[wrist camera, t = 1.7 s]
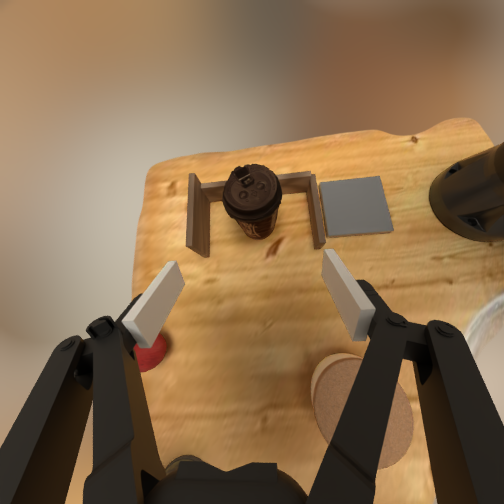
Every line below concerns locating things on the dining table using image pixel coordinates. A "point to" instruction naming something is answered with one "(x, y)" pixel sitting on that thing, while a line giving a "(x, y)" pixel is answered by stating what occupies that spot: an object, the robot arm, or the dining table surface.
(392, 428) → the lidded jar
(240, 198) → the coffee cup
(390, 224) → the slate pad
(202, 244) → the u-shaped wooden frame
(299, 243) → the dining table surface
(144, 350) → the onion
